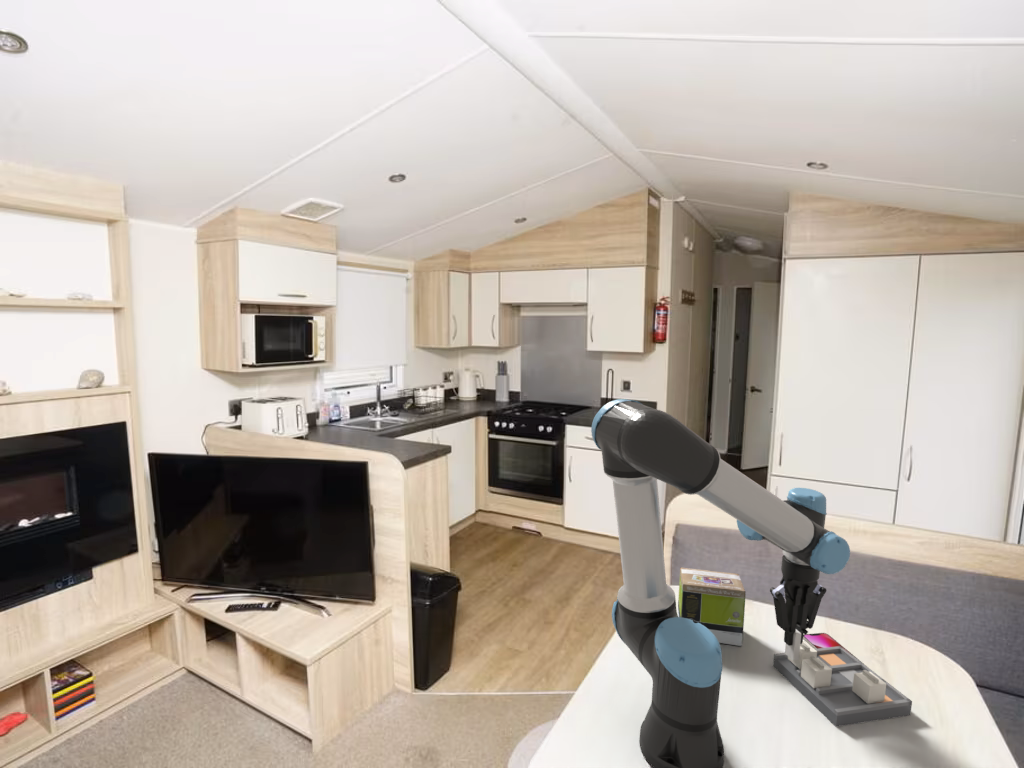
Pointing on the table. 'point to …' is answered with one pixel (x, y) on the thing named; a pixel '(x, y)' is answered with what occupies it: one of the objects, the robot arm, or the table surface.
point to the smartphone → (822, 641)
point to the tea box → (713, 602)
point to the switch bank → (843, 690)
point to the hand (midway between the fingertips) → (791, 656)
